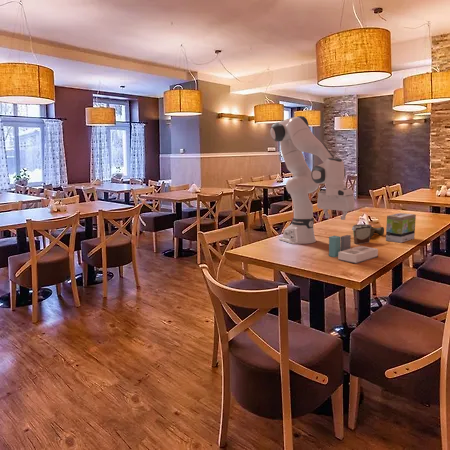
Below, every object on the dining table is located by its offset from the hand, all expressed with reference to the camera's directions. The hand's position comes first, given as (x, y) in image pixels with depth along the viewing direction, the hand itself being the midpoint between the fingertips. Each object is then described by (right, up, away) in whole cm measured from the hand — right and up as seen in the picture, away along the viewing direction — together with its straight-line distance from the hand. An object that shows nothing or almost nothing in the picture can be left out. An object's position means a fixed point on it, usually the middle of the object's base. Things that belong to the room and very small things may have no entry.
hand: (335, 218), depth 207 cm
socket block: (+11, -20, -3) cm, 22 cm away
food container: (+22, -13, +31) cm, 40 cm away
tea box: (+47, -12, +33) cm, 58 cm away
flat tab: (+8, -18, +9) cm, 21 cm away
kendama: (+36, -10, +47) cm, 60 cm away
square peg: (+1, -19, +4) cm, 19 cm away
